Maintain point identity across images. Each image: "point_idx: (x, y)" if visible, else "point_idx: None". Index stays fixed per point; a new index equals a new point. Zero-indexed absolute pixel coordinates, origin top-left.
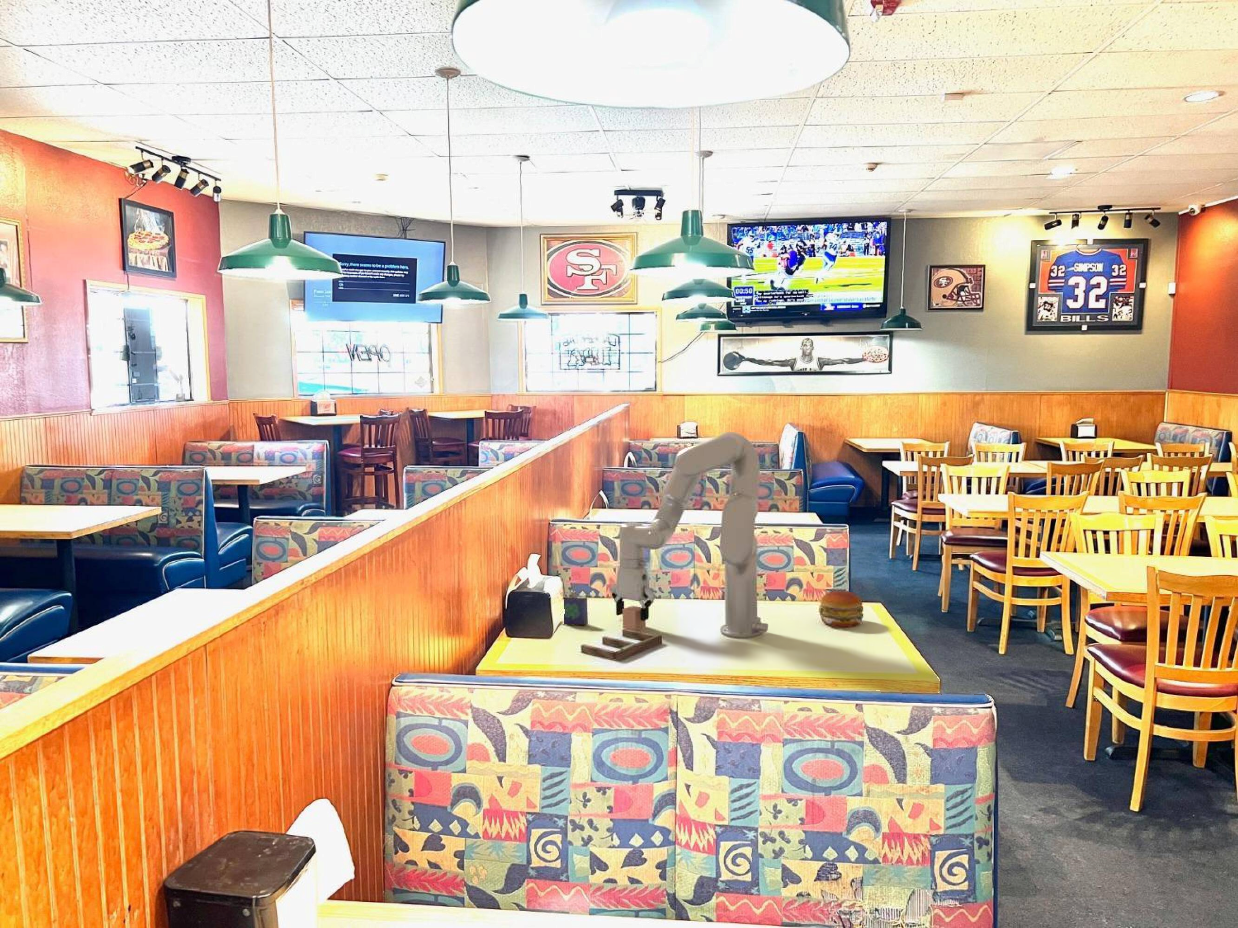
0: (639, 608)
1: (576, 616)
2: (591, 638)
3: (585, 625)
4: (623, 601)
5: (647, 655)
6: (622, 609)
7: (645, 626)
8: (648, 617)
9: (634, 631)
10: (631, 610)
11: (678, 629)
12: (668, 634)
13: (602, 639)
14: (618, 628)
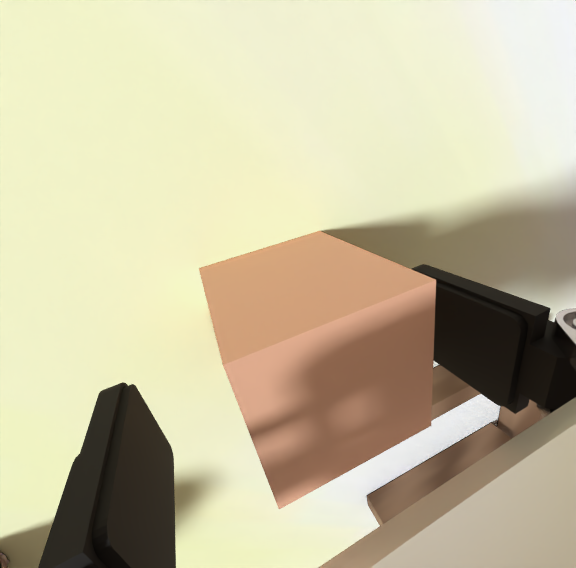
0: (398, 348)
1: None
2: (282, 534)
3: (6, 561)
4: (90, 548)
5: None
6: (279, 504)
7: (320, 233)
8: (427, 267)
9: (439, 408)
10: (383, 442)
11: (511, 99)
12: (503, 223)
13: (381, 524)
14: (228, 397)
